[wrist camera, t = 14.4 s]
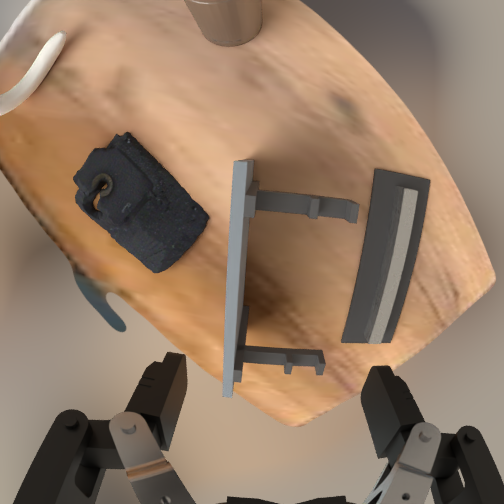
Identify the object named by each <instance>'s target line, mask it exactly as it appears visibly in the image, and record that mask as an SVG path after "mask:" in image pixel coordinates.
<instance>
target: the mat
mask: <svg viewBox="0 0 504 504" xmlns="http://www.w3.org/2000/svg"><path fill="white" fill-rule="evenodd" d="M429 185H430V180H428V179H423V178H419V177H415V176H410V175H405V174H401V173H396V172H391V171H385V170H380V169H375V170H374V179H373V187H372V194H371V201H370V208H369V215H368V221H367V227H366V233H365V239H364V244H363V249H362V255H361V260H360V265H359V270H358V274H357V279H356V283H355V288H354V292H353V297H352V301H351V305H350V309H349V313H348V317H347V321H346V325H345V328H344V332H343V336H342V339H341V343H368V342H367V340H366V338H365V336H364V332H365V328H366V325H367V322H368V318H369V315H370V311H371V308H372V304H373V300H374V296H375V292H376V288H377V284H378V280H379V276H380V272H381V267H382V263H383V258H384V254H385V249H386V244H387V239H388V234H389V228H390V223H391V217H392V211H393V204H394V198H395V191H396V186H399V187H404V188H409V189H413V190H416V191H418V195H417V202H416V208H415V214H414V219H413V225H412V230H411V235H410V240H409V245H408V249H407V254H406V258H405V263H404V267H403V271H402V275H401V279H400V282H399V286H398V290H397V294H396V297H395V301H394V304H393V307H392V311H391V314H390V317H389V320H388V323H387V327H386V330H385V333H384V336H383V339H382V341H381V343H391V340H392V337H393V334H394V331H395V328H396V325H397V322H398V319H399V316H400V313H401V310H402V307H403V304H404V300H405V297H406V294H407V290H408V287H409V283H410V279H411V275H412V272H413V268H414V264H415V260H416V255H417V251H418V247H419V242H420V237H421V233H422V228H423V222H424V217H425V211H426V205H427V199H428V192H429Z"/></svg>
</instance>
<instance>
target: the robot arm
mask: <svg viewBox="0 0 504 504" xmlns="http://www.w3.org/2000/svg"><path fill="white" fill-rule="evenodd" d="M184 1H185V3H186V5H187V6H188V8H189V10H190V12H191V13H192V15H193V17H194V19H195V21H196V22H197V24H198V26H199V28H200V30H201V31H202V33H203V35H204V36H205V37H206V39H208V40H209V41H210V42H212V43H214V44H216V45H220V46H228V47H229V46H237V45H241V44H244V43H246V42H248V41H250V40H251V39H253V38H254V37H255V36H256V35H257V33H258V32H259V31H260V28H261V25H262V3H261V0H184ZM186 391H187V367H186V356H185V354H179V353H172V352H167V354H166V356H165V358H164V360H163V362H162V363H161V362H156V361H154V362H153V363H152V364H151V365H149V366H148V367H147V368H146V370H145V371H144V373H143V375H142V378H141V379H140V381H139V384H138V385H137V387H136V389H135V392H134V393H133V395H132V397H131V399H130V401H129V403H128V405H127V407H126V410H125V411H124V412H122V413H119V414H117V415H115V416H114V417H113V418H112V419H111V420H88V418H87V417H86V415H85V414H84V413H82V412H81V411H78V410H72V409H71V410H66V411H64V412H61V413H60V414H59V415H58V416H57V417H56V419H55V421H54V423H53V424H52V426H51V428H50V430H49V432H48V434H47V435H46V437H45V439H44V441H43V443H42V445H41V447H40V448H39V450H38V452H37V454H36V456H35V458H34V460H33V462H32V464H31V466H30V468H29V470H28V472H27V474H26V476H25V478H24V480H23V483H22V485H21V487H20V489H19V491H18V493H17V496H16V498H15V500H14V503H13V504H95V501H96V498H97V495H98V492H99V489H100V486H101V483H102V480H103V477H104V474H105V471H106V469H125V470H126V472H127V476H128V479H129V481H130V483H131V485H132V487H133V489H134V491H135V493H136V495H137V497H138V499H139V501H140V503H141V504H196V503H195V501H194V500H193V498H192V497H191V495H190V494H189V492H188V491H187V489H186V488H185V486H184V485H183V483H182V482H181V480H180V478H179V477H178V475H177V474H176V472H175V470H174V469H173V467H172V466H171V464H170V463H169V462H167V460H166V459H165V457H164V456H163V454H162V452H161V450H165V451H169V447H170V444H171V441H172V437H173V434H174V431H175V427H176V424H177V421H178V417H179V414H180V411H181V408H182V404H183V401H184V398H185V395H186ZM361 404H362V407H363V410H364V413H365V416H366V420H367V423H368V426H369V430H370V433H371V436H372V439H373V443H374V446H375V450H376V453H377V457H378V459H379V458H385V457H387V458H388V463H387V464H386V466H385V468H384V469H383V471H382V473H381V475H380V477H379V479H378V480H377V482H376V484H375V486H374V487H373V489H372V491H371V493H370V494H369V496H368V497H367V498H366V500H365V501H364V502H363V503H362V504H424V502H425V500H426V497H427V495H428V492H429V489H430V488H431V491H432V495H433V499H434V503H435V504H504V484H503V481H502V479H501V476H500V474H499V472H498V469H497V467H496V465H495V462H494V460H493V458H492V456H491V454H490V451H489V449H488V447H487V445H486V443H485V441H484V439H483V437H482V435H481V433H480V431H479V430H478V429H476V428H475V427H472V426H464V427H461V428H460V429H459V431H458V432H457V433H456V434H448V433H440V431H439V429H438V428H437V427H436V426H434V425H433V424H430V423H427V422H425V421H424V418H423V416H422V414H421V412H420V410H419V408H418V406H417V404H416V402H415V400H414V399H413V396H412V394H411V393H410V390H409V388H408V386H407V384H406V383H405V382H404V381H403V380H402V379H401V378H400V377H399V376H395V375H394V374H393V371H392V369H391V368H390V366H388V365H386V366H373V367H371V369H370V372H369V374H368V377H367V379H366V382H365V384H364V386H363V389H362V392H361ZM459 469H460V470H461V473H462V476H463V478H464V481H465V487H463V484H462V481H461V478H460V475H459V472H458V470H459ZM218 504H278V503H274V502H269V501H265V500H261V499H254V498H239V497H227V502H226V503H218ZM297 504H355V503H350V502H346V497H345V496H336V497H327V498H316V499H313V500H309V501H306V502H301V503H297Z"/></svg>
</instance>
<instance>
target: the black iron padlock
mask: <svg viewBox="0 0 504 504" xmlns="http://www.w3.org/2000/svg"><path fill="white" fill-rule="evenodd" d="M73 180H74V182H75V184H76V185H77V186H78V187H79V190H78V191H77V194H76V195H75V200H76V203H77V204H78V205H79V207H80V208H81V210H82V211H83V212H85V213H86V214H87V215H88V216H89V217H90V218H91V219H92V220H94V221H95V222H96V223H98V224H99V225H100V226H101V227H102V228H104V229H105V230H107V231H108V233H110V234H111V237H112V238H114V239H115V240H116V242H117V243H118V244H120V245H121V246H122V247H124V248H126V250H127V251H128V252H129V253H131V254H133V255H134V256H135V257H136V258H137V259H138V260H140V261H141V262H142V263H143V264H144V265H145V266H146V267H147V268H148V269H150V270H151V271H152V272H153V273H160V272H162V271H165V270H167V269H168V268H169V267H170V266H171V265H172V264H173V263H174V262H176V261H177V260H179V258H180V257H181V256H182V255H183V254H184V252H185V251H186V250H188V249H189V248H190V247H191V246H192V244H193V243H194V242H195V240H196V239H197V236H198V235H200V234H201V233H202V232H203V230H204V228H205V226H206V222H207V220H208V219H209V216H208V215H207V213H206V212H204V210H203V208H202V207H201V206H200V205H199V204H198V203H197V202H195V201H194V200H193V199H192V198H191V196H190V195H189V194H188V193H187V192H186V190H185V189H184V188H182V187H181V185H180V184H179V183H178V182H177V181H176V180H175V178H174V177H173V176H172V175H170V173H169V172H168V171H167V170H166V169H165V168H163V167H162V165H161V164H160V163H158V161H157V160H156V159H155V158H154V157H153V156H152V155H150V153H149V152H148V151H147V150H145V149H144V148H143V146H142V145H141V144H139V142H138V141H137V140H136V139H135V138H134V137H133V136H132V135H131V134H130V133H129V132H126V133H124V135H123V136H119V135H117V134H116V135H115V137H114V138H113V140H112V141H111V142H110V144H109V145H108V147H107V148H95V149H94V150H93V151H92V152H91V153H90V155H89V156H88V158H87V160H86V162H85V163H84V165H83V166H82V168H81V169H80V170H78V171H77V173H76V175H75V176H74V177H73ZM106 183H107V185H108V186H107V188H106V189H102V187H103V186H104V185H105V184H106ZM99 192H100V199H99V201H98V204H97V209H98V210H100V211H96V210H95V208H94V206H93V201H94V199H95V197H96V195H97V194H98V193H99Z"/></svg>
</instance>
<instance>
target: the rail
mask: <svg viewBox="0 0 504 504" xmlns="http://www.w3.org/2000/svg"><path fill="white" fill-rule="evenodd" d="M417 195H418V191H416V190H413V189H409V188H404V187H399V186H396V191H395V198H394V204H393V211H392V217H391V223H390V228H389V234H388V239H387V244H386V249H385V254H384V258H383V263H382V267H381V272H380V276H379V280H378V284H377V288H376V292H375V296H374V300H373V304H372V308H371V311H370V315H369V318H368V322H367V325H366V328H365V332H364V336H365V338H366V340H367V342H368V344H381V341H382V339H383V336H384V333H385V330H386V327H387V323H388V320H389V317H390V314H391V311H392V307H393V304H394V301H395V297H396V294H397V290H398V286H399V282H400V279H401V275H402V271H403V267H404V263H405V258H406V254H407V249H408V245H409V240H410V235H411V230H412V225H413V219H414V214H415V208H416V202H417Z"/></svg>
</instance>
